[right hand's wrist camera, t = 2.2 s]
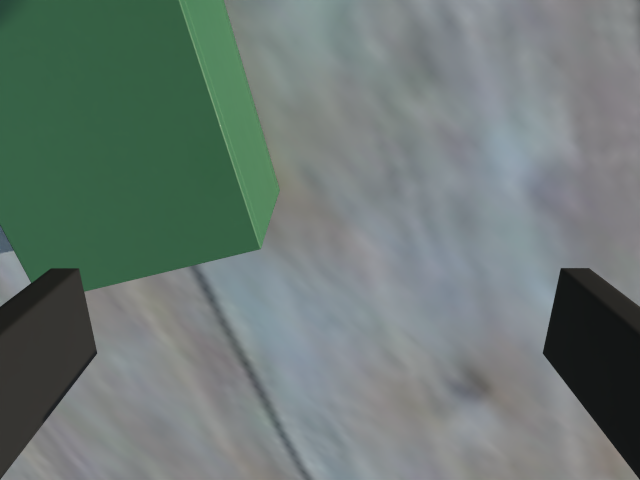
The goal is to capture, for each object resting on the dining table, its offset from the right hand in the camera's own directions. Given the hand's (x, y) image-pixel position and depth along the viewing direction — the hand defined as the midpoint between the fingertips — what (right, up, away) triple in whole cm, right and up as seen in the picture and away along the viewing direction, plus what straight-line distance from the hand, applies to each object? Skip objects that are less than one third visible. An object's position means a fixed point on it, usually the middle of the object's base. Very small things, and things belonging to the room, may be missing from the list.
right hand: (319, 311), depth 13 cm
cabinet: (-10, +11, +16) cm, 22 cm away
